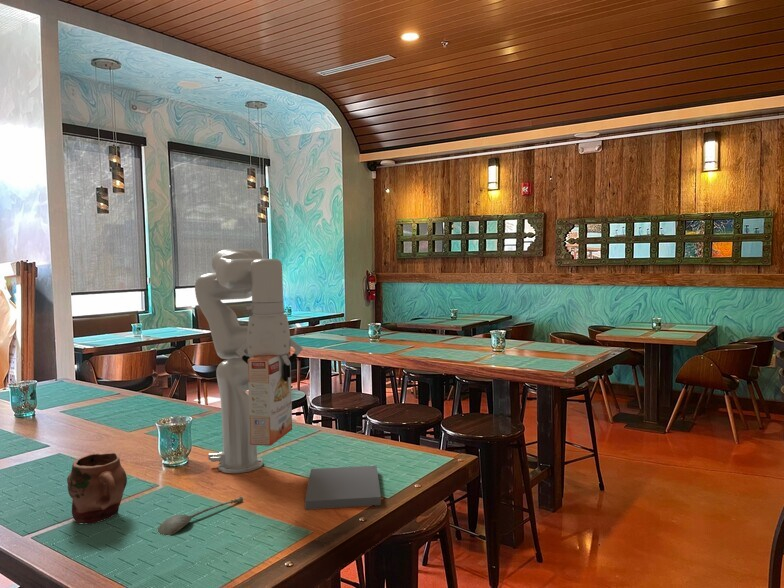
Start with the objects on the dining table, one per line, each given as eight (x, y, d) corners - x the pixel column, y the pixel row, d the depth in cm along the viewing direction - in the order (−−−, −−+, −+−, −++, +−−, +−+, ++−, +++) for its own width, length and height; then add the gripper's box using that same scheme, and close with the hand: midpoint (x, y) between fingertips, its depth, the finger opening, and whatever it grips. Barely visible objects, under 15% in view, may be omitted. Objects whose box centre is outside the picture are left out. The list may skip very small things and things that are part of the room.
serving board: (305, 509, 139) (304, 501, 139) (311, 476, 161) (310, 468, 161) (381, 505, 140) (380, 496, 140) (376, 472, 162) (376, 465, 162)
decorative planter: (146, 519, 136) (143, 460, 136) (92, 539, 127) (89, 475, 126) (105, 499, 149) (102, 445, 148) (54, 516, 139) (50, 458, 139)
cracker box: (272, 446, 139) (269, 358, 137) (249, 445, 140) (245, 358, 139) (294, 429, 152) (291, 349, 151) (272, 429, 153) (269, 349, 152)
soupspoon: (150, 535, 131) (166, 544, 126) (149, 520, 130) (165, 529, 126) (234, 499, 147) (250, 506, 143) (233, 486, 147) (250, 493, 143)
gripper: (229, 311, 140) (232, 385, 141) (302, 309, 141) (305, 382, 142) (235, 309, 147) (237, 379, 148) (304, 307, 149) (307, 376, 150)
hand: (270, 380), depth 145 cm, fingers closed on cracker box, 7 cm apart
